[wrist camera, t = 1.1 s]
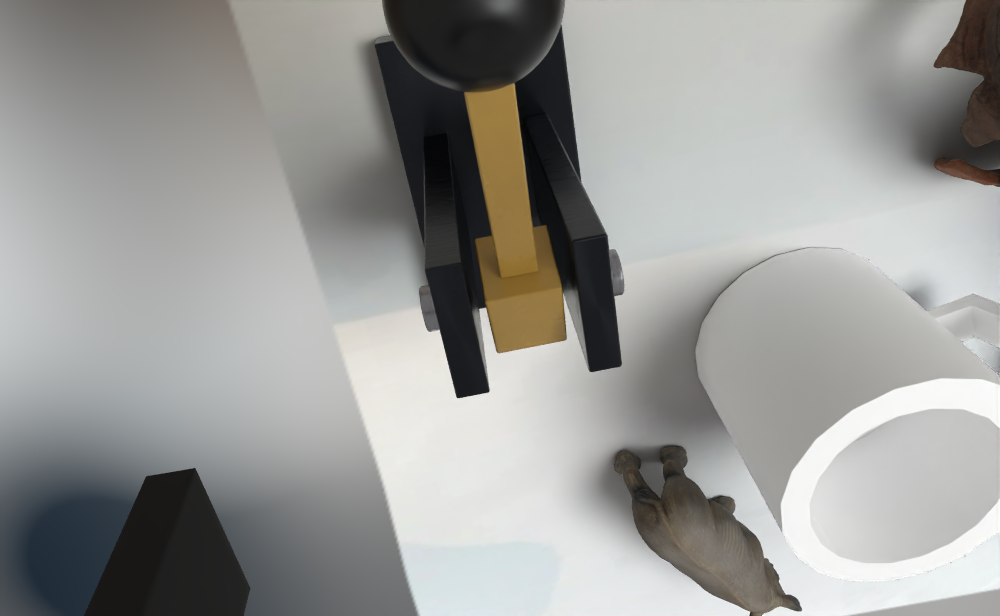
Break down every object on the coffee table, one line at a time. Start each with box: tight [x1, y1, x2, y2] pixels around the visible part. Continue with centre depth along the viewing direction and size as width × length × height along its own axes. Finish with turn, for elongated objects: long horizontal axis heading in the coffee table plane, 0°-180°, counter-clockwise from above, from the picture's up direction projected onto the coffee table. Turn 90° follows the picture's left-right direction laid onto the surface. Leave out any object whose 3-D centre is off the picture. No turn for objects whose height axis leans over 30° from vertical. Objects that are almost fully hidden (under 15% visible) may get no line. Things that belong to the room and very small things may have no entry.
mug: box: [695, 247, 1000, 582], centre depth 34 cm, size 14×10×11 cm
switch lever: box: [382, 0, 567, 353], centre depth 20 cm, size 13×4×4 cm, turn 10°
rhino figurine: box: [614, 447, 802, 616], centre depth 42 cm, size 4×14×6 cm, turn 42°
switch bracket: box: [375, 25, 624, 398], centre depth 28 cm, size 12×7×13 cm, turn 10°
